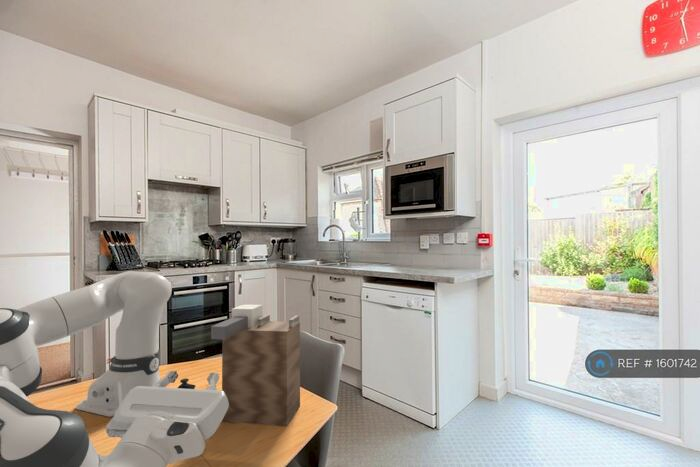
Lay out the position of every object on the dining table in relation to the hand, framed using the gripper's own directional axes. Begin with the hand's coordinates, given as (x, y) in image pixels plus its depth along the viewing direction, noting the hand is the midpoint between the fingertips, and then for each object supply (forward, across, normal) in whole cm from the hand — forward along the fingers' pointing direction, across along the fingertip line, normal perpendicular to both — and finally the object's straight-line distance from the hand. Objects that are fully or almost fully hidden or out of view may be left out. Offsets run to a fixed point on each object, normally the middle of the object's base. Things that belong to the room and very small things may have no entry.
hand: (194, 373), depth 69 cm
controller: (+4, -16, -25) cm, 30 cm away
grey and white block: (+18, 0, -5) cm, 19 cm away
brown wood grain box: (+11, +5, -28) cm, 31 cm away
